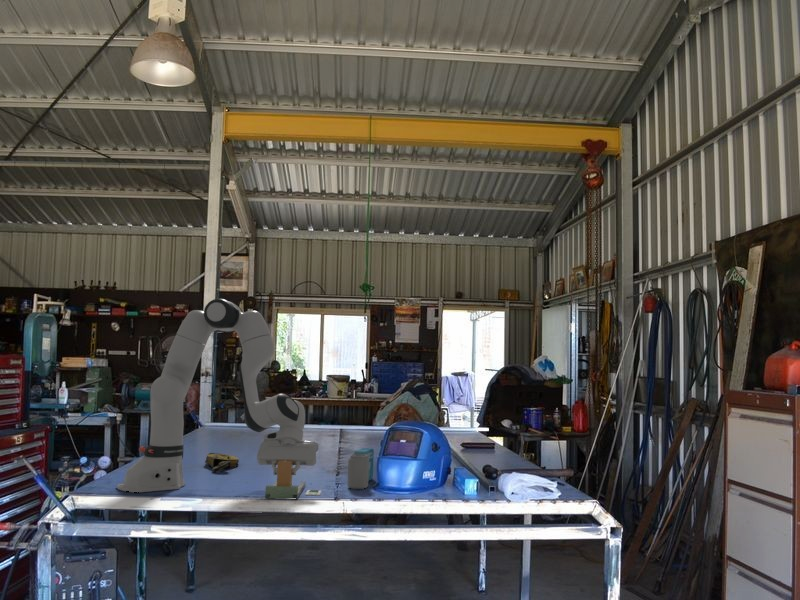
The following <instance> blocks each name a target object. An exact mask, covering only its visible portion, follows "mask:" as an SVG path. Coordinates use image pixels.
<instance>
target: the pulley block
mask: <svg viewBox="0 0 800 600" xmlns="http://www.w3.org/2000/svg"><path fill="white" fill-rule="evenodd" d="M239 460H240V458H238V457H236V456H234V455H232V454H231V455H229V454H224V453H218V452H209V453H208V454H206V458H205V461H204V463H205V464H207V465H209V466H210V467H212V471H213V472H215V473H216V472H219V471H220V472H222V471H224V470H223V469H225V470H228V468H229V469H233V468H232V467H234V468H236V467H235V466H238V467H239V463H240V462H239Z"/></svg>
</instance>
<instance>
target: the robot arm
mask: <svg viewBox="0 0 800 600" xmlns="http://www.w3.org/2000/svg"><path fill="white" fill-rule="evenodd" d="M214 332H217V333H236V334H237V336H238V338H239V342H240V345H241V348H242V359H241V362H240V363H239V366H238V367H239V378H240V379H239V380H240V387H241V392H242V398H243V407H244V410H243V411H244V412H243V413H244V418H243V419H244V422H245V426H247V427H248V429H250V430H252V431H253V432H257V433H262V432H264V431H265V430H268V429H269V428H271V427H273V426H276V425H278V426H279V429H278V431H274V432H271V433H270V432H269V433H266V434H265V435H264V436H263V441H262V442H261V443H260V445H259V448H258V451H257V454H256V461H257V463H258V464H259V465H263V466H265V465H266V466H271V468H272V469H273V475H274V476H277V468H278V467H277V466H278V461H279V460H289V461H293V466H294V467H293V468H292V471H291V475H292V476H296V475H297V472H298V470H300V468H301V466H310V467H311V466H315V465H316V464H317V452H318V451H319V445H320V444H318V443H317V442H316V441H313V440H311V441H309V440H304V439H303V438H304V431H303V430H304V428H305V425H306V424H305V423H306V411H305V406H304V404H303V403H302V402H300V401H299V400H295V399H293V398H292V397H290V396H289V395H287V394H286V393H278V394H276V395H273V396H271V397H268V398H267V399H263V400H262V401H260V400H259V393H258V387H257V378H258V374H259V373H260V372H261V370H262V369H263V368H264V367H265V366H266V365H267V364H268V363H269V362H270V360H271V359H272V358H273V355H274V353H275V344H274V341H273V337H272V334H271V332H270V328H269V325H268V323H267V322H266V320H265V318H264V316H263V314H261V313H260V312H259V311H257V310H247V311H243V310H242V308H241V307H240V306H238V305H237V304H236V303H234V302H232V301H228V300H227V299H224V298H215V299H212V300H210V301H208V303H207V304H206V305H205V307H204V310H199V309H193V310H191V311H189V312H188V314H187V315H186V316H185V318H184V319H183V321H182V322H181V324H180V325H179V328H178V330H177V332H176V334H175V337H174V338H173V342H172V343H171V346H170V348H169V350H168V353H167V355H166V360H165V363H164V366H163V370H162V372H161V375H160V376H159V377H157V378H156V379H155V380H154V381H153V382H152V384H151V387H150V394H149V395H150V396H149V397H150V400H149V402H150V437H149V445H148V446H147V447H146V446H143V445H142V446H140V447H139V448H138V451H139V453H144V454H143V455H144V456H143V457H141V458H140V459H139V460H138V461H137V462H135V463H134V464H132V466H130V467H129V468H128V469H127V470H126V472H125V475H124V480H123V483H119V484H117V485H116V489H117V490H120V491H122V492H126V491H129V492H128V493H134V492H137V494H138V492H139V493H146V492H147V493H149V492H159V491H160V492H161V491H171V490H180V489H181V487H184V486H185V485H186V483H185V479H184V473H183V472H184V471H183V458H184V450H185V448H184V447H185V446H184V444H183V442H184V440H183V439H184V429H185V428H184V425H185V424H184V423H185V421H184V399H185V398H186V396H187V395H188V391H189V389H190V387H191V385H192V381H193V378H194V376H195V373H196V370H197V368H198V366H199V362H200V360H201V357H202V356H203V353H204V350H205V348H206V345H207V343H208V341H209V338H210V336H211V335H212V333H214Z"/></svg>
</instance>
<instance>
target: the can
mask: <svg viewBox="0 0 800 600" xmlns="http://www.w3.org/2000/svg"><path fill="white" fill-rule="evenodd" d="M347 463H348V464H347V487H348V488H349V489H350V488H351V489H350V490H354V489H362V490H365V489H364V488H366V489H367V487H368V486H369V481H368V473H369V459H368V458H367V455H365V454H354V453H351V454H350V455H349V457H348V461H347Z"/></svg>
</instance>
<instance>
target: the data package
mask: <svg viewBox="0 0 800 600" xmlns="http://www.w3.org/2000/svg"><path fill="white" fill-rule="evenodd" d="M374 452H375V451H374V448H370V447H368V448H365V447H361V448H358V449H356V450H354V452H353V454H365V455H367V458H368V459H369V473H368V482H369V480H370V481H371V479H373V476H374V455H375V454H374Z"/></svg>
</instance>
